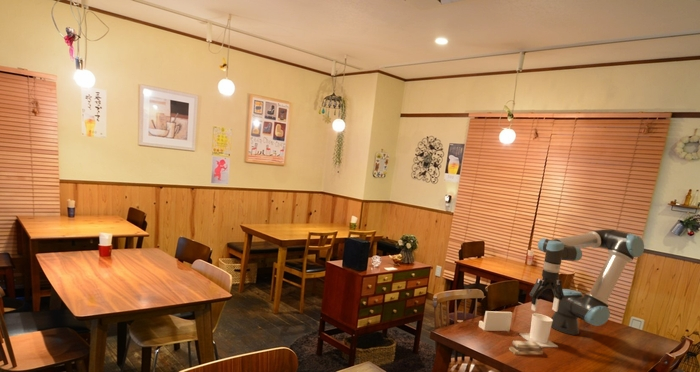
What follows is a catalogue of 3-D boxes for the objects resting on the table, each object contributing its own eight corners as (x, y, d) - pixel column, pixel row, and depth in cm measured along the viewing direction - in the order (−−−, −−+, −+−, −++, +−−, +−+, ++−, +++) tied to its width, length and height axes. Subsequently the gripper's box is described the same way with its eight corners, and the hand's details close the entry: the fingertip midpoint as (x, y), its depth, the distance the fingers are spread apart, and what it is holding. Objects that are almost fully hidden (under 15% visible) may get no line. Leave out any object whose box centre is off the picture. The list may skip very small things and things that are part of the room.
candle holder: (551, 346, 186) (555, 323, 185) (531, 341, 188) (535, 318, 187) (545, 337, 195) (549, 315, 195) (525, 333, 197) (529, 311, 197)
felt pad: (538, 334, 200) (538, 333, 200) (557, 347, 187) (558, 346, 187) (518, 334, 196) (518, 333, 196) (537, 347, 183) (537, 346, 183)
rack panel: (503, 326, 203) (506, 309, 203) (509, 330, 199) (512, 313, 198) (478, 326, 199) (481, 308, 198) (484, 330, 194) (487, 312, 194)
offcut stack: (535, 349, 181) (537, 340, 180) (542, 354, 176) (544, 345, 176) (508, 349, 176) (510, 340, 176) (515, 354, 172) (516, 345, 171)
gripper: (536, 272, 182) (529, 313, 184) (576, 274, 189) (569, 313, 190) (525, 267, 189) (519, 307, 191) (564, 269, 196) (557, 307, 198)
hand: (544, 310), depth 191 cm, fingers open, 13 cm apart
